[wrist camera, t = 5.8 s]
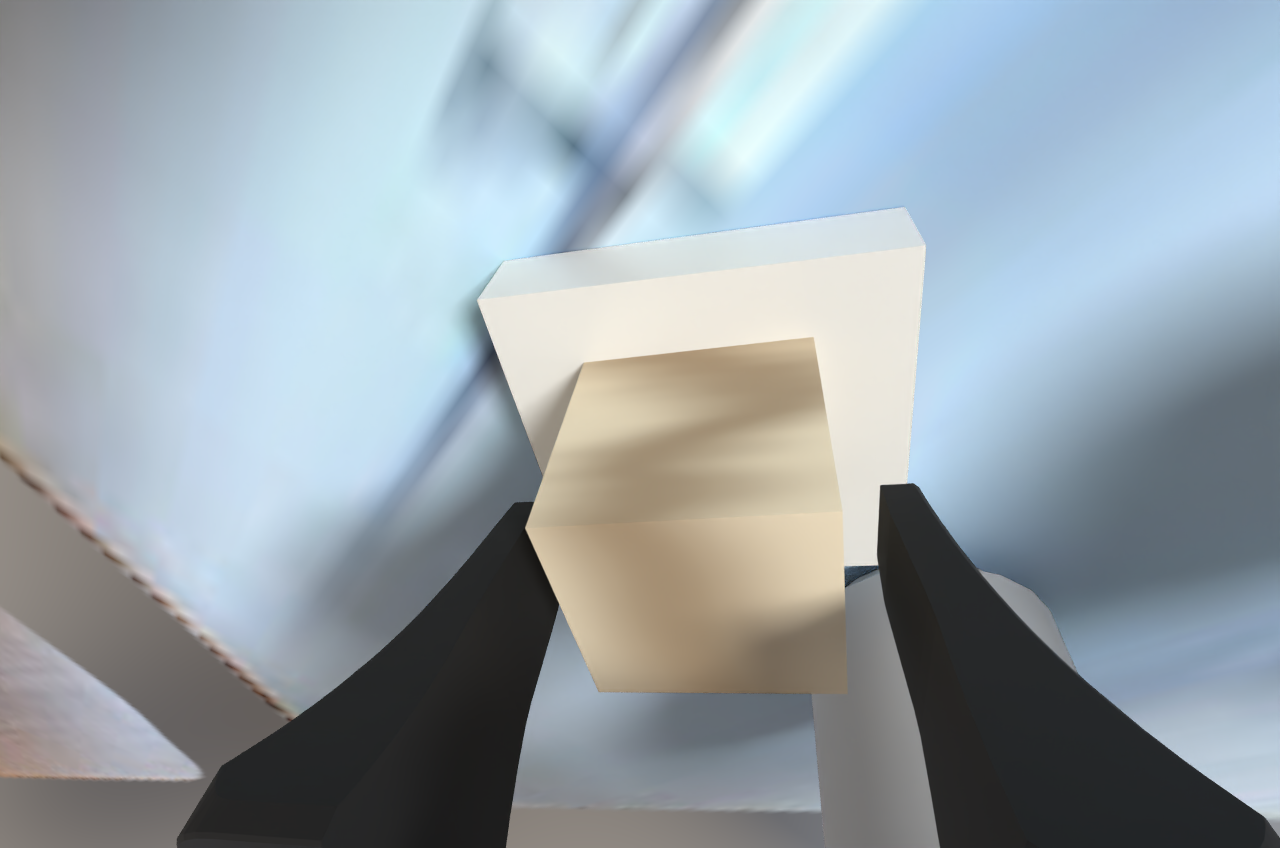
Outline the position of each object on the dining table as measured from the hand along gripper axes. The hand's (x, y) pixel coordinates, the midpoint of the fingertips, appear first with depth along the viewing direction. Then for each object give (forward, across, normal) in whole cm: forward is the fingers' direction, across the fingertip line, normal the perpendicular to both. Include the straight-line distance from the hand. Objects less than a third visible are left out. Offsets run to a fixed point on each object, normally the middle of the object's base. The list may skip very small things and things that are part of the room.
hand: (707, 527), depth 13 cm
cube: (+3, 0, 0) cm, 3 cm away
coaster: (+5, 0, 0) cm, 5 cm away
